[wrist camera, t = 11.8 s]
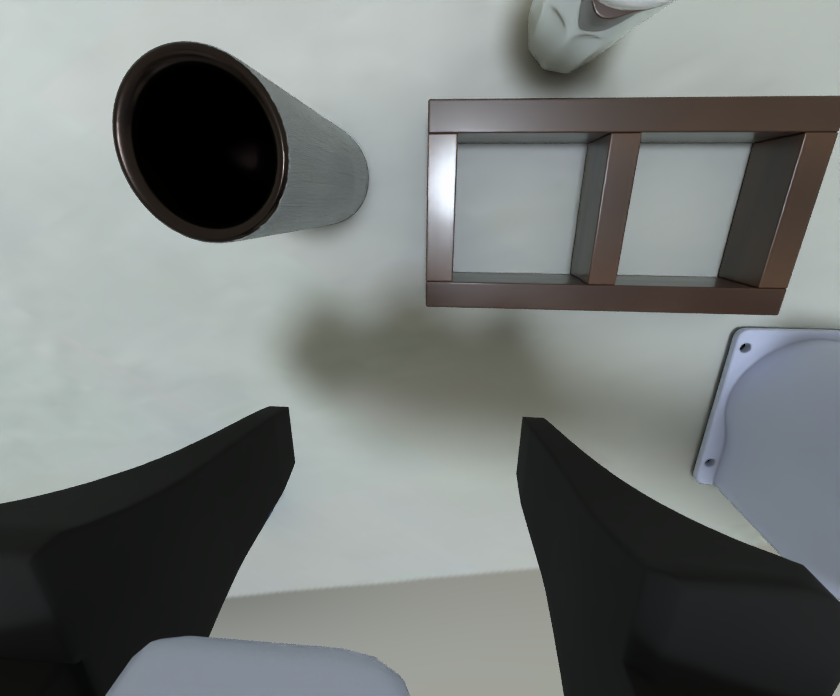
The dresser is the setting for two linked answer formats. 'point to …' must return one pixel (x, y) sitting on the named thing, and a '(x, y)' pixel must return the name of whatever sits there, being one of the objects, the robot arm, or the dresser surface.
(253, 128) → the grey hollow cylinder
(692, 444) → the dresser surface
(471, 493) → the dresser surface
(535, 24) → the milkshake
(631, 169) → the holder
